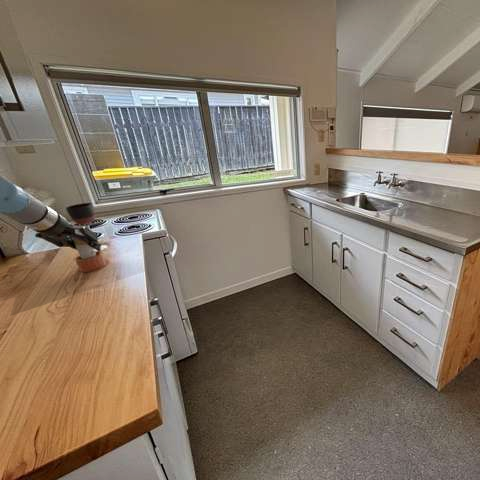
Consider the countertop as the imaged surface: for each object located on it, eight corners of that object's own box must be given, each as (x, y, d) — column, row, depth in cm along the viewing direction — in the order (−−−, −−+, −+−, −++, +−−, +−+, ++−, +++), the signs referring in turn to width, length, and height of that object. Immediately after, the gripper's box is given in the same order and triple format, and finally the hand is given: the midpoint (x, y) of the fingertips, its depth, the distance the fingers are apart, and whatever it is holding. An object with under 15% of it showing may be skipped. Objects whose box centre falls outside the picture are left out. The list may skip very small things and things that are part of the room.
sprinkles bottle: (92, 261, 100) (77, 228, 95) (102, 260, 99) (88, 228, 94) (80, 266, 96) (65, 233, 91) (91, 266, 95) (76, 233, 90)
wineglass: (80, 252, 113) (60, 208, 105) (100, 244, 121) (82, 202, 113) (94, 253, 111) (74, 208, 103) (113, 245, 119) (96, 203, 111)
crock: (79, 267, 98) (74, 256, 97) (105, 260, 103) (100, 249, 101) (81, 274, 93) (75, 262, 91) (107, 266, 98) (102, 255, 96)
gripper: (5, 235, 75) (63, 261, 96) (77, 227, 79) (117, 253, 100) (10, 213, 77) (66, 243, 98) (79, 206, 82) (118, 236, 103)
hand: (91, 248), depth 99 cm, fingers closed on sprinkles bottle, 4 cm apart
